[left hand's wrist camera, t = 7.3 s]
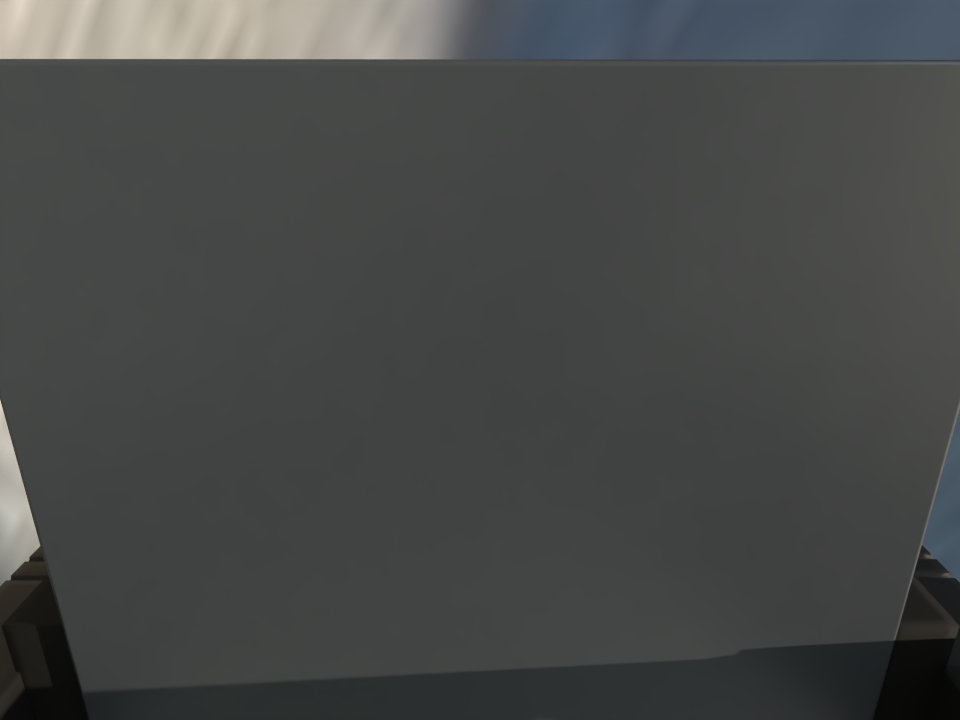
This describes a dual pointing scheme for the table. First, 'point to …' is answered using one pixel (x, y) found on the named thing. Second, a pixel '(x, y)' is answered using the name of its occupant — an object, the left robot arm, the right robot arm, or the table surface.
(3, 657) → the left robot arm
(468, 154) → the wide beam
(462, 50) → the table surface
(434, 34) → the table surface
